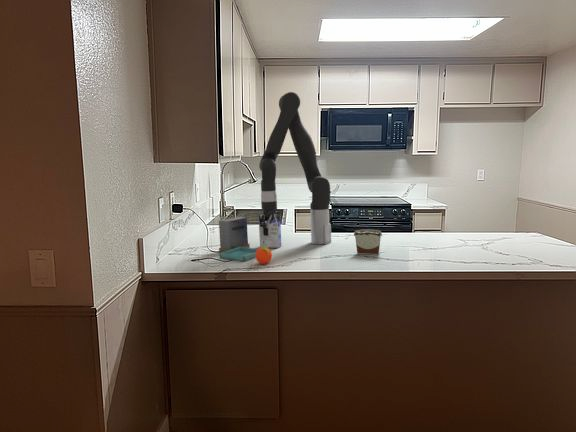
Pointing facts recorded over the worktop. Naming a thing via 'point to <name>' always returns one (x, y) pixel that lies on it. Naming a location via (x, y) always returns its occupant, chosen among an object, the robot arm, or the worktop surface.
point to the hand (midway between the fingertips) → (270, 234)
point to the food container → (368, 241)
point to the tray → (239, 254)
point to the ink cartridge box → (271, 235)
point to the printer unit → (233, 233)
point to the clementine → (263, 255)
